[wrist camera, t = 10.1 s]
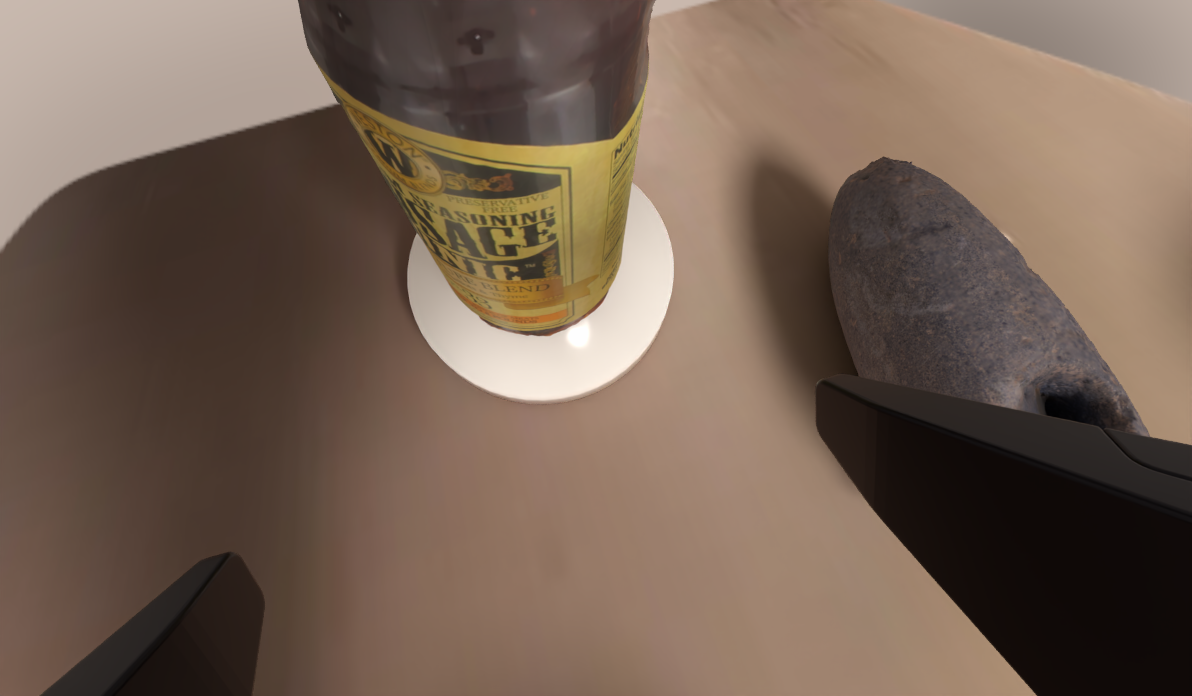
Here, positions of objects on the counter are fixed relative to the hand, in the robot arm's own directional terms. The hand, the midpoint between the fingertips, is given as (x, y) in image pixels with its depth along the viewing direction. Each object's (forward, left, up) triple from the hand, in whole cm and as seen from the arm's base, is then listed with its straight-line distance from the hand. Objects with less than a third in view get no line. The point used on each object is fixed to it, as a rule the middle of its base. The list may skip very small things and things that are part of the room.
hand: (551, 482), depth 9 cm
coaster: (+2, -8, -12) cm, 15 cm away
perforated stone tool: (-12, -5, -12) cm, 18 cm away
